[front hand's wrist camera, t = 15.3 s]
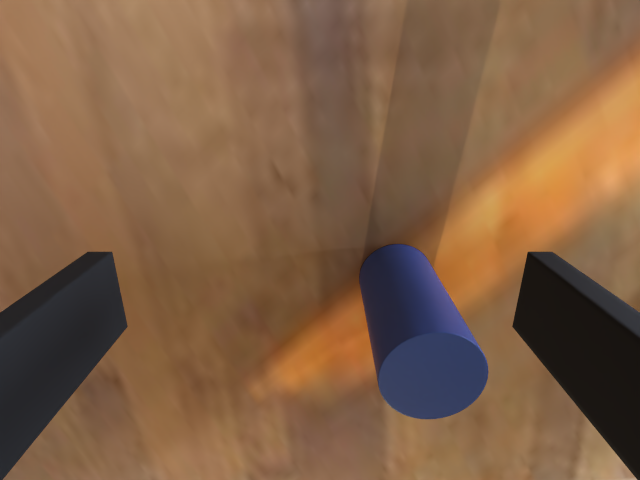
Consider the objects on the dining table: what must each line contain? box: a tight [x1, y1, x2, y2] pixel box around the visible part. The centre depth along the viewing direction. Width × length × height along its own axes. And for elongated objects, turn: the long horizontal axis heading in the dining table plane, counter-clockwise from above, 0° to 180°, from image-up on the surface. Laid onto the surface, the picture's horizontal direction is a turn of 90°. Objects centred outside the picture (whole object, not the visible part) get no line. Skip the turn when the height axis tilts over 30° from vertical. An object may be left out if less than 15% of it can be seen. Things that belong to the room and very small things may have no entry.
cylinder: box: [359, 244, 488, 419], centre depth 28 cm, size 6×6×12 cm
